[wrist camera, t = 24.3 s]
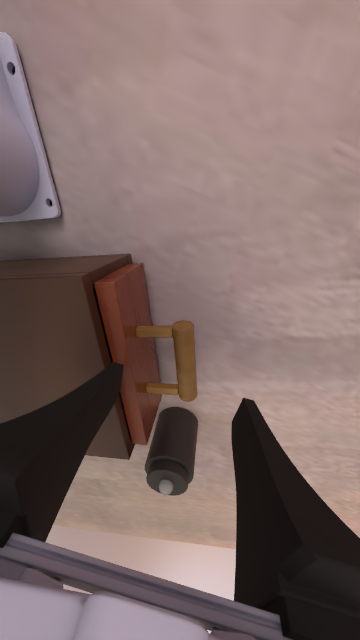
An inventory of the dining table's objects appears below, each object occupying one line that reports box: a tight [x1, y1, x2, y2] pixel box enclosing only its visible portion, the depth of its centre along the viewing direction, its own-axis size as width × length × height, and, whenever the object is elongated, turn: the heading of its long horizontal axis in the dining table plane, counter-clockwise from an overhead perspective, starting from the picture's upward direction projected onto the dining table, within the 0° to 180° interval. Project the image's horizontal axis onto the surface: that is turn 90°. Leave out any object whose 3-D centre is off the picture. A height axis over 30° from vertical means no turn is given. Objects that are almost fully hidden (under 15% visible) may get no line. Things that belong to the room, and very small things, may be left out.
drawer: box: [92, 263, 197, 445], centre depth 17 cm, size 16×13×5 cm
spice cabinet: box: [0, 254, 135, 460], centre depth 18 cm, size 14×14×7 cm
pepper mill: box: [145, 407, 198, 495], centre depth 21 cm, size 4×4×7 cm
